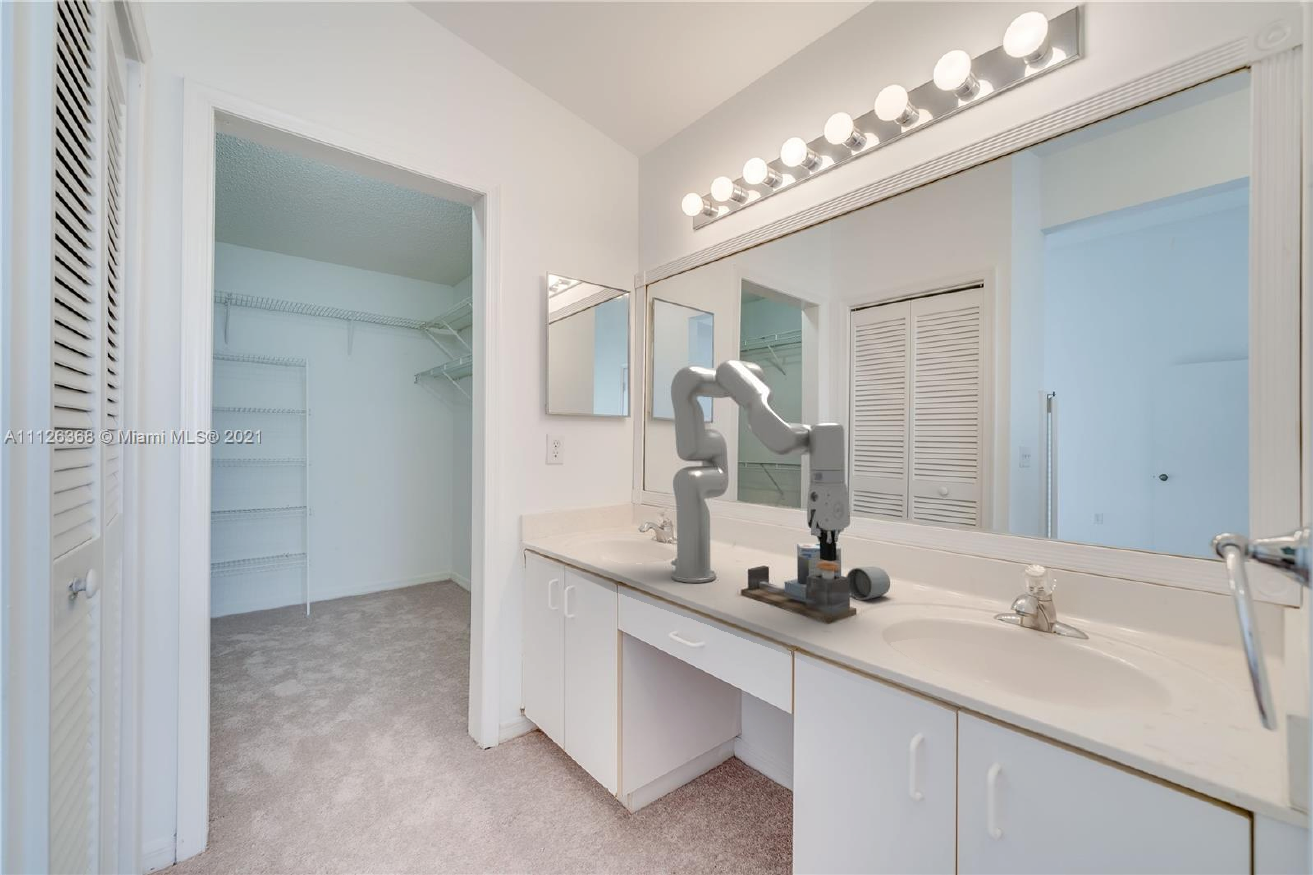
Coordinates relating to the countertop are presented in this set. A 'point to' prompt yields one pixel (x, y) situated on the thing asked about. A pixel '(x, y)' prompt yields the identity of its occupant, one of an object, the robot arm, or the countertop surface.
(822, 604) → the rail board
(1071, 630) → the countertop surface
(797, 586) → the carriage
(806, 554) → the light bulb box
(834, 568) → the button
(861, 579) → the ceramic mug
